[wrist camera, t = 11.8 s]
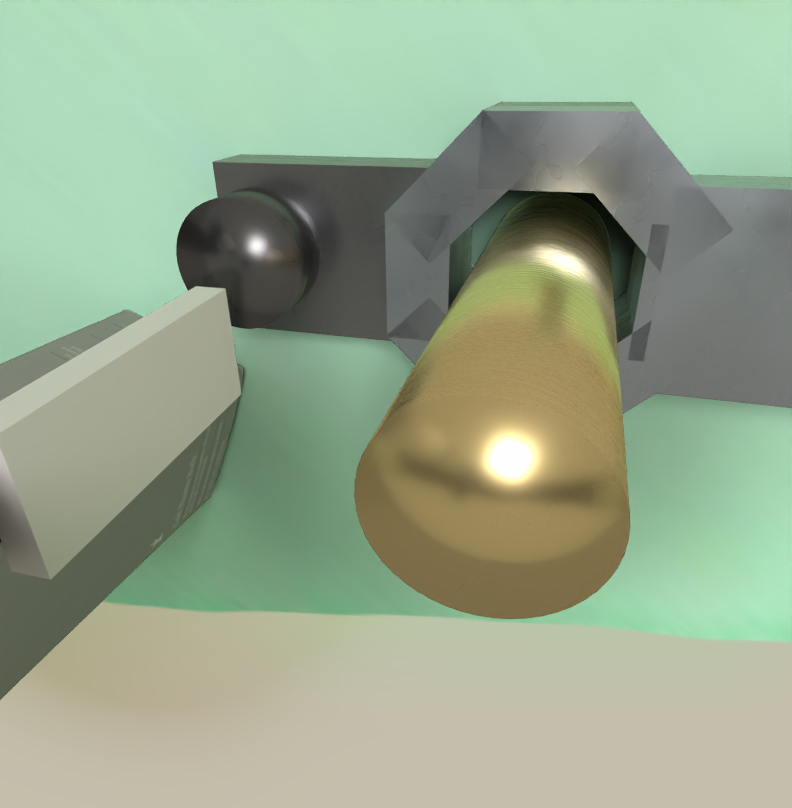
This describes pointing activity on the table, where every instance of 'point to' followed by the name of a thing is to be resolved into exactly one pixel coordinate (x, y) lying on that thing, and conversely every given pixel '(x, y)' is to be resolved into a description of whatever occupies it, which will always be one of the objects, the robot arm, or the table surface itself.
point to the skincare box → (117, 542)
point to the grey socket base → (452, 233)
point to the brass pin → (510, 429)
